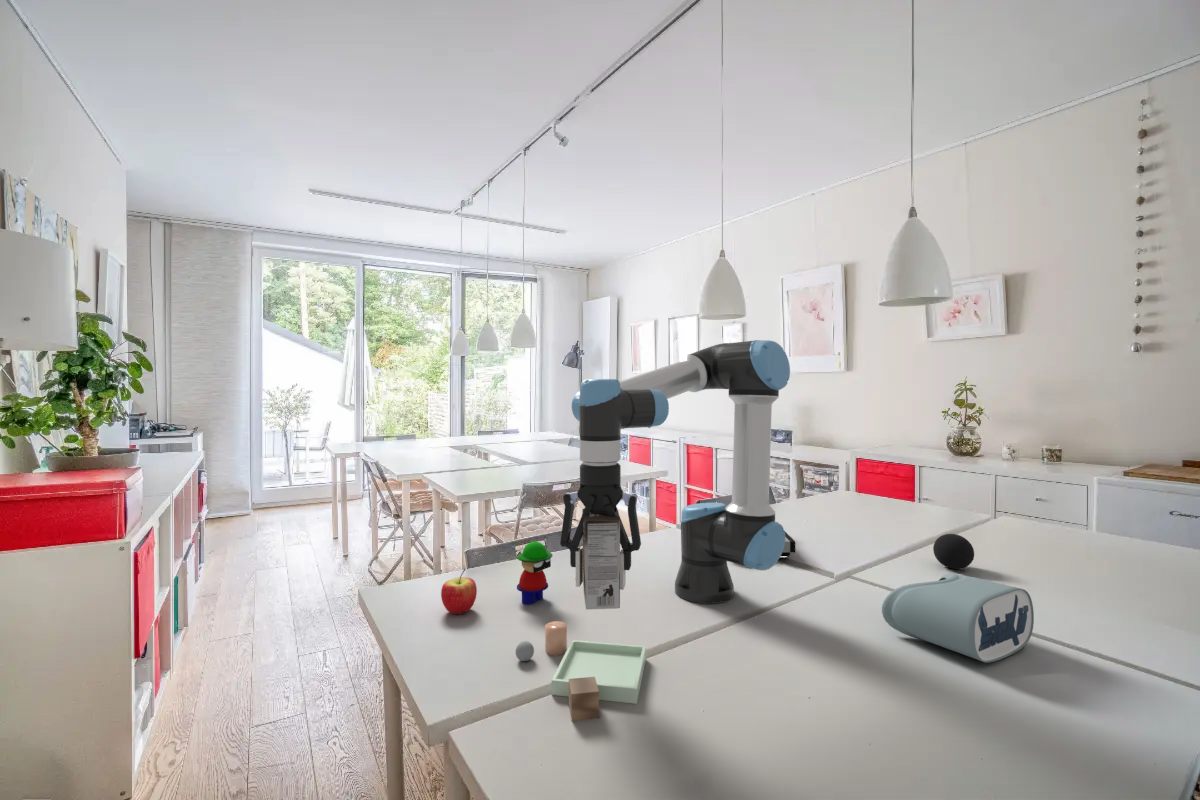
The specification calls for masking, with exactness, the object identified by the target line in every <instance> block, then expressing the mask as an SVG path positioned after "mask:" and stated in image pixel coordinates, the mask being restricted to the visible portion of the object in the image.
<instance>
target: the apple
mask: <svg viewBox="0 0 1200 800" xmlns="http://www.w3.org/2000/svg"><path fill="white" fill-rule="evenodd" d="M465 571H466V568H464V569H463V570H462V573H461V574H460V577H455V578H452V579H451V578H450V579H449V580H447V581H445V582H444V583H443V584H442V587H441V592H440V596H441V597H440V598H441V603H442V605H443V607H444V608H445V610H447V612H449V613H450V614H454V615H460V614H464V613H467V612H468V611H470V609H471V608H473V606H474V603H475V602H476V599H477V593H478V590H477V584H476V581H475V580H474V578H471V577H465V576H463V574H464V572H465Z"/></svg>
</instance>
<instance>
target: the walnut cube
mask: <svg viewBox="0 0 1200 800" xmlns="http://www.w3.org/2000/svg"><path fill="white" fill-rule="evenodd" d="M568 709H569V714H570V719H571V722H575V721H584V720H585V721H586V720H593V719H594V720H595V719H600V700H599V690H598V686H597V683H596V679H595V677H584V678H574V679H569V697H568Z"/></svg>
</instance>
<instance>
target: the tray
mask: <svg viewBox="0 0 1200 800" xmlns="http://www.w3.org/2000/svg"><path fill="white" fill-rule="evenodd" d="M646 660H647V646H645V645H635V644H627V643H626V644H624V643H613V642H600V641H586V640H578V639H577V640H576V639H572V640H571V641H570V643H569V645H568V646H567V651H566V652H565V653H564V654H563V657H562V659H561V661H560V663H559V665H558V667H557V668H556V671H555V672H554V675H553V676H552V679H551V695H552V696H559V697H568V698H569V679H574V678H584V677H595V679H596V683H597V686H598V690H599V701H604V702H605V701H606V702H615V703H616V702H617V703H626V704H633V705H634V704H635V705H637V704H638V700H639V695H640V691H641V685H642V681H643V675H644V670H645V666H646V662H647V661H646Z"/></svg>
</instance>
